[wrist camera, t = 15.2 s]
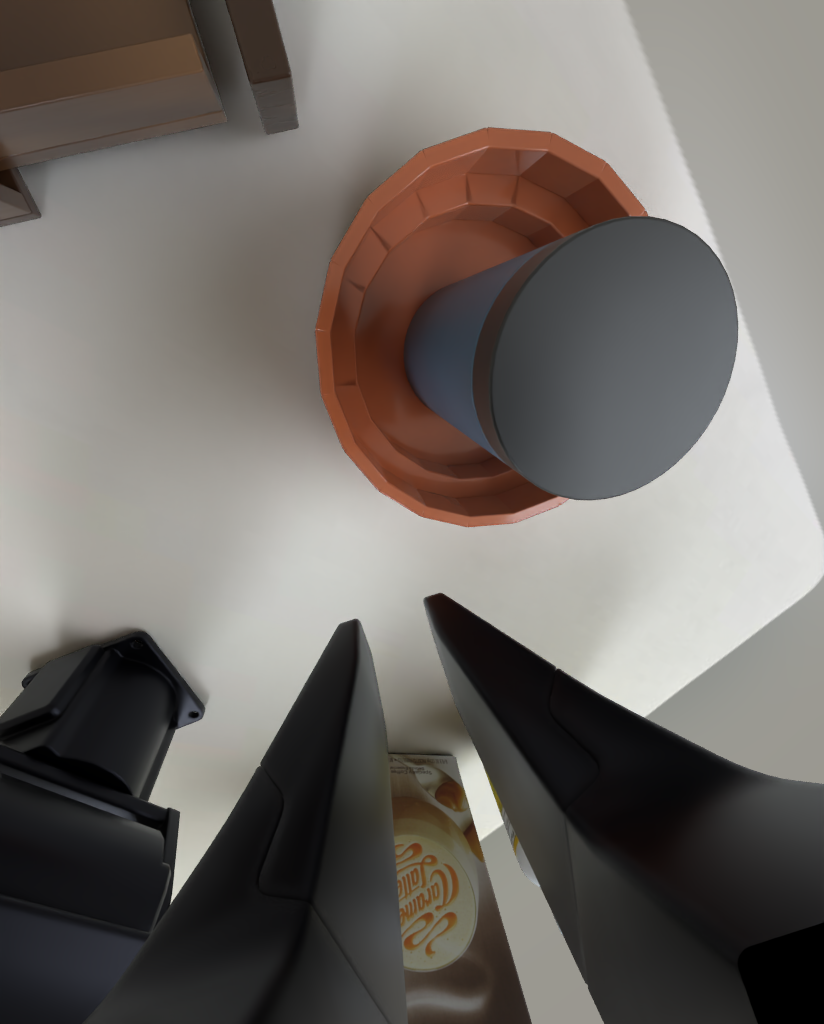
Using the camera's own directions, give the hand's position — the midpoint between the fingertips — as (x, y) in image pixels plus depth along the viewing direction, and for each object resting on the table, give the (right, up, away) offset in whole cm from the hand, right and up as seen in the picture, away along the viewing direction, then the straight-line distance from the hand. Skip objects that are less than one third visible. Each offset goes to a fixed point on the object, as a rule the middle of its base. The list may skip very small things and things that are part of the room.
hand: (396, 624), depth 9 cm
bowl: (+3, +10, +11) cm, 15 cm away
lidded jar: (+3, +9, +10) cm, 14 cm away
